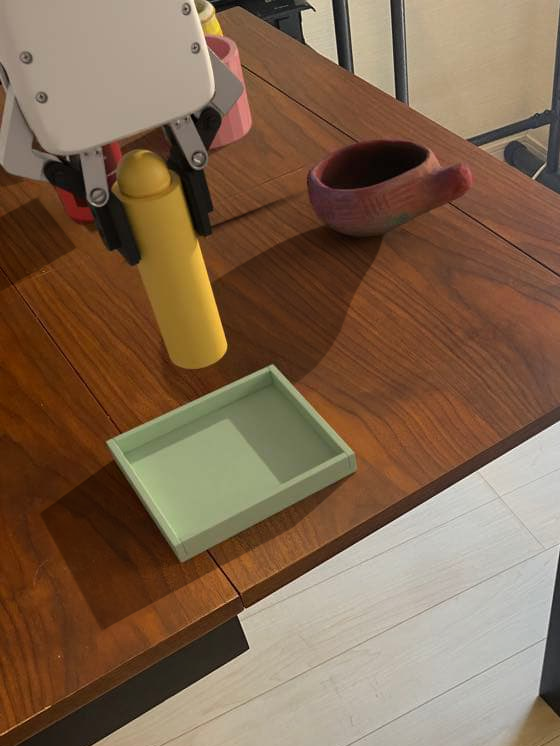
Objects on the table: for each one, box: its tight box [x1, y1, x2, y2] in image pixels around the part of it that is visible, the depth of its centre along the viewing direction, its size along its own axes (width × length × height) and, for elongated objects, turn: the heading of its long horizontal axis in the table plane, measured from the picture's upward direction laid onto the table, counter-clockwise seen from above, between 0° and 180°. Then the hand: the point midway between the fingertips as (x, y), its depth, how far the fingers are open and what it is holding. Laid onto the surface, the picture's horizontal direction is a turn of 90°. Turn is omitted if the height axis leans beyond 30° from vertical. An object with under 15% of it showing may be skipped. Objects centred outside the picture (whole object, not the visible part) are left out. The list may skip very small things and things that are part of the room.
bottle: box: [111, 148, 228, 370], centre depth 52 cm, size 4×4×14 cm
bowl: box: [306, 138, 474, 238], centre depth 84 cm, size 16×13×8 cm
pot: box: [162, 34, 253, 150], centre depth 98 cm, size 11×11×9 cm
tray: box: [105, 363, 358, 564], centre depth 66 cm, size 15×13×2 cm
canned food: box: [33, 133, 123, 226], centre depth 88 cm, size 8×8×11 cm
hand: (162, 237), depth 51 cm, fingers closed on bottle, 4 cm apart
